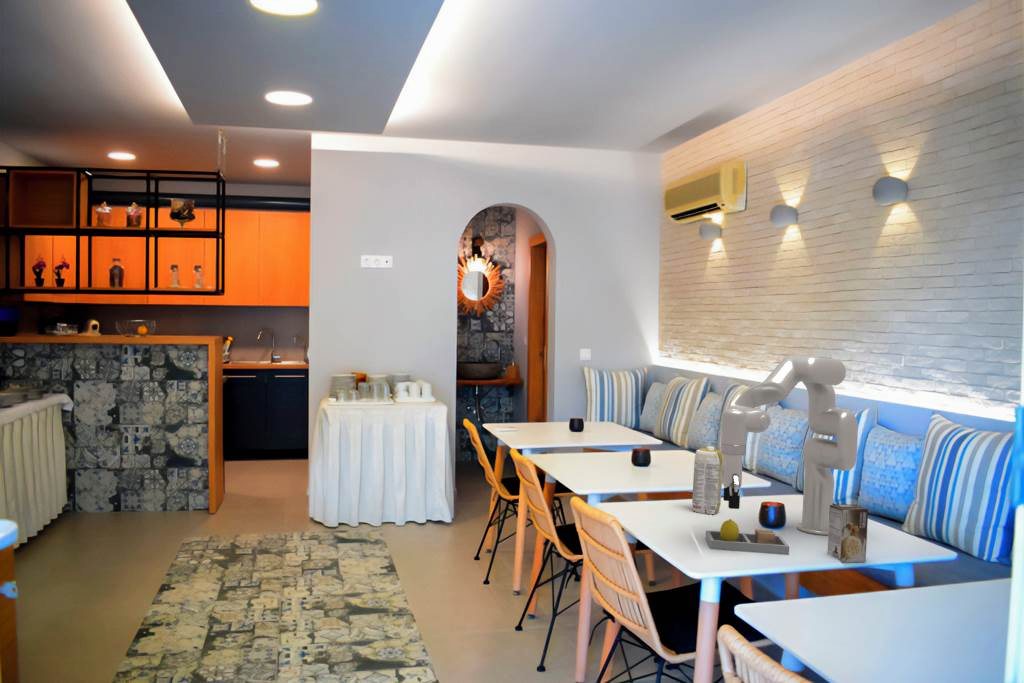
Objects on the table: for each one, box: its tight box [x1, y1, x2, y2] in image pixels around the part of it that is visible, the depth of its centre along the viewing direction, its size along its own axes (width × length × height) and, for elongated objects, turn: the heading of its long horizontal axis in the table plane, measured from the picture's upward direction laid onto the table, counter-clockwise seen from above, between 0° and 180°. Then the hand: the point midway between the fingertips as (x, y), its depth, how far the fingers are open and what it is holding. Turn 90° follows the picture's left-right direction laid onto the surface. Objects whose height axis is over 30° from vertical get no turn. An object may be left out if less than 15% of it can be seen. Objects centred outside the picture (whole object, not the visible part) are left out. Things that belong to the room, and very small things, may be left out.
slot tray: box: [704, 529, 790, 556], centre depth 251 cm, size 12×23×4 cm, turn 84°
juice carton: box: [691, 445, 723, 515], centre depth 298 cm, size 9×8×24 cm
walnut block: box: [754, 528, 776, 545], centre depth 250 cm, size 5×5×5 cm
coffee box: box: [827, 504, 869, 564], centre depth 245 cm, size 9×6×16 cm
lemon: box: [719, 518, 740, 542], centre depth 251 cm, size 6×6×8 cm
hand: (731, 504), depth 251 cm, fingers open, 9 cm apart
